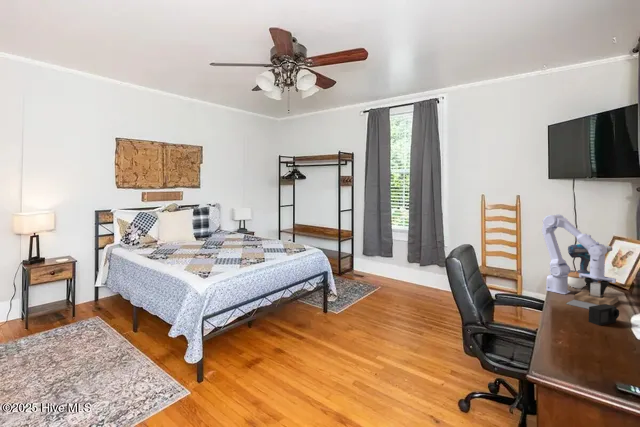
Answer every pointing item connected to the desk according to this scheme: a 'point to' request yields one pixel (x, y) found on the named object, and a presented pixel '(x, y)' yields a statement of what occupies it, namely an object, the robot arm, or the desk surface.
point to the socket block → (596, 298)
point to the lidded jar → (576, 280)
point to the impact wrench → (582, 257)
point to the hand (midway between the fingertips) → (596, 293)
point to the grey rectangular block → (595, 290)
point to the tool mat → (580, 304)
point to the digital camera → (603, 314)
